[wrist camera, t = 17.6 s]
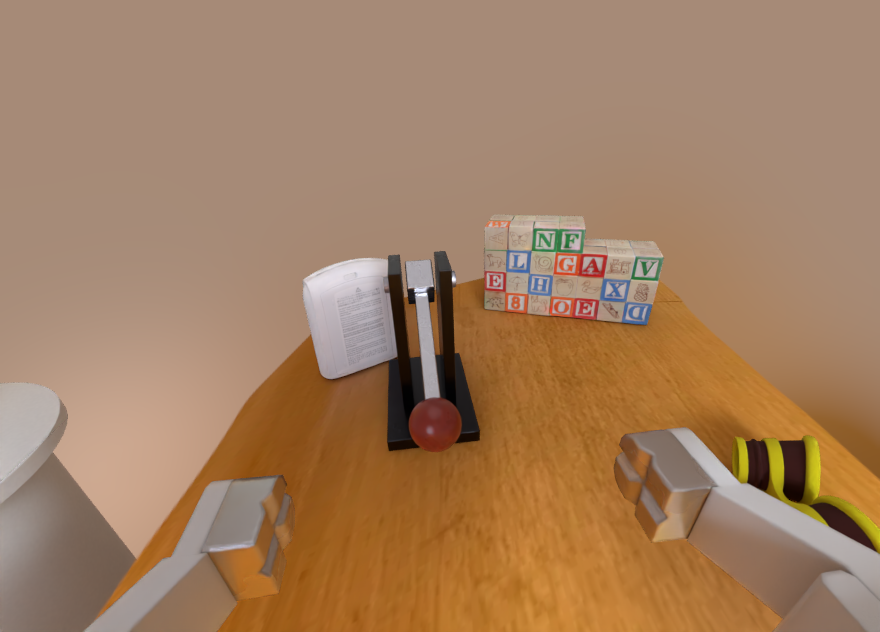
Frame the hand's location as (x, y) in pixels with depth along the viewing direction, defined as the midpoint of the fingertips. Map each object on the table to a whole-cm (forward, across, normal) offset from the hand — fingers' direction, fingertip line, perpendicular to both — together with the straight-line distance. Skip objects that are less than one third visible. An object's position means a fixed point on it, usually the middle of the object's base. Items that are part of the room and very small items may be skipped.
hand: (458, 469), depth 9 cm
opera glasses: (+7, -23, +18) cm, 30 cm away
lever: (+19, 0, +10) cm, 21 cm away
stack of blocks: (+40, -20, +18) cm, 48 cm away
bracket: (+23, 0, +18) cm, 29 cm away
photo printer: (+31, +7, +18) cm, 37 cm away
